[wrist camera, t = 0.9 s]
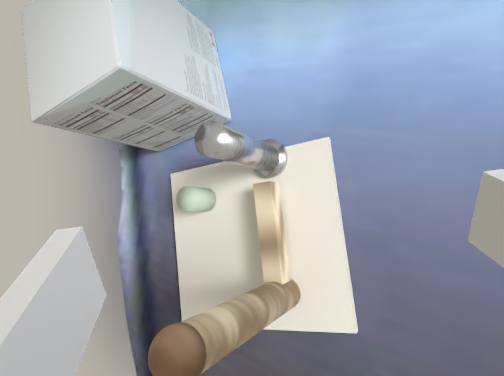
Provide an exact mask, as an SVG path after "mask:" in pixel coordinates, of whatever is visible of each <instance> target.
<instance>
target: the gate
mask: <svg viewBox="0 0 504 376" xmlns="http://www.w3.org/2000/svg"><path fill="white" fill-rule="evenodd" d="M253 188H254V197H255V206H256V215H257V224H258V233H259V242H260V251H261V260H262V269H263V278H264V285H262V286H260V287H257V288H255V289H253V290H251V291H248V292H246V293H244V294H242V295H239V296H237V297H235V298H233V299H230V300H228V301H226V302H224V303H221V304H219V305H217V306H215V307H212V308H210V309H208V310H206V311H204V312H201V313H199V314H197V315H195V316H192V317H190V318H188V319H186V320H183V321H181V322H179V323H173V324H170V325H168V326H166V327H165V328H163V329H162V330H161V331H160V332H159V333H158V334H157V335H156V336H155V338H154V339H153V341H152V343H151V345H150V348H149V353H148V364H149V368H150V371H151V373H152V375H153V376H199V375H200V374H201V373H203V372H204V371H206V370H207V369H208V368H210V367H211V366H213V365H214V364H215V363H217V362H218V361H219V360H221V359H222V358H224V357H225V356H226V355H228V354H229V353H231V352H232V351H233V350H235V349H236V348H238V347H239V346H240V345H242V344H243V343H245V342H246V341H247V340H249V339H250V338H251V337H253V336H254V335H256V334H257V333H258V332H260V331H261V330H263V329H264V328H265V327H267V326H268V325H270V324H271V323H272V322H274V321H275V320H276V319H278V318H279V317H281V316H282V315H283V314H285V313H286V312H288V311H289V310H290V309H292V308H293V307H295V306H296V305H297V304H298V302H299V300H300V296H301V292H300V288H299V286H298V284H297V283H296V282H295V281H294V280H293V279H291V278H290V270H289V262H288V254H287V246H286V237H285V229H284V221H283V213H282V205H281V197H280V189H279V183H277V182H272V181H267V182H262V183H256V184H253Z"/></svg>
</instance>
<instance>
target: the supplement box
mask: <svg viewBox="0 0 504 376" xmlns="http://www.w3.org/2000/svg"><path fill="white" fill-rule="evenodd" d="M21 15H22V22H23V23H22V24H23V34H24V45H25V56H26V65H27V75H28V86H29V98H30V110H31V122H34V123H38V124H43V125H47V126H51V127H55V128H60V129H64V130H68V131H72V132H77V133H81V134H85V135H90V136H94V137H98V138H103V139H107V140H111V141H115V142H119V143H124V144H128V145H132V146H136V147H141V148H145V149H150V150H154V151H162V150H164V149H167V148H169V147H171V146H174V145H176V144H178V143H181V142H183V141H186V140H188V139H190V138H193V137H195V135H196V132H197V130H198V128H199V127H200V126H201V125H202V124H203V123H204V122H207V121H216V122H218V123H220V124H225V123H227V122H230V121H231V119H232V118H231V113H230V108H229V103H228V99H227V94H226V89H225V84H224V80H223V75H222V70H221V66H220V61H219V56H218V51H217V47H216V42H215V37H214V33H213V31H212V30H211V29H210V28H209V27H208V26H206V25H205V24H204V23H203V22H202V21H200V20H199V19H198V18H197V17H196V16H195V15H193V14H192V13H191V12H190V11H189V10H187V9H186V8H185V7H184V6H183V5H182V4H180V3H179V2H178V1H177V0H31V1H30V2H29V3H28V4H27V5H26V6H25V7H24V8H23V9H22V10H21Z"/></svg>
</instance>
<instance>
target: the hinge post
mask: <svg viewBox="0 0 504 376" xmlns="http://www.w3.org/2000/svg"><path fill="white" fill-rule="evenodd" d="M195 146H196V149H197V150H198V152H199V153H200V154H202V155H204V156H207V157H211V158H215V159H219V160H223V161H227V162H230V163H234V164H238V165H242V166H246V167H250V168H253V170H254V172H255V173H256V174H257V175H259V176H261V177H264V178H273V177H276V176H278V175H279V174H281V173H282V172H283V170H284V169H285V167H286V164H287V159H288V156H287V151H286V149H285V147H284V146H283V145H282V144H281V143H279V142H277V141H275V140H271V139H267V140H263V141H260V140H257V139H255V138H253V137H250V136H248V135H246V134H243V133H241V132H239V131H237V130H234V129H232V128H230V127H227V126H225V125H223V124H220V123H218V122H216V121H207V122H204V123H203V124H202V125H201V126H200V127H199V128H198V130H197V132H196V135H195Z"/></svg>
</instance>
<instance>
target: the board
mask: <svg viewBox="0 0 504 376" xmlns="http://www.w3.org/2000/svg"><path fill="white" fill-rule="evenodd" d="M285 149H286V151H287V156H288V159H287V164H286V167H285V169H284V170H283V172H282V173H281V174H279V175H278V176H276V177H273V178H264V177H261V176H259V175H257V174H256V173H255V172H254V170H253V168H250V167H246V166H242V165H238V164H234V163H230V162H227V161H223V162H219V163H215V164H211V165H206V166H202V167H198V168H194V169H189V170H185V171H181V172H176V173H172V174H170V175H171V187H172V200H173V213H174V226H175V239H176V252H177V264H178V277H179V290H180V303H181V316H182V321H183V320H186V319H188V318H190V317H192V316H195V315H197V314H199V313H201V312H204V311H206V310H208V309H210V308H212V307H215V306H217V305H219V304H221V303H224V302H226V301H228V300H230V299H233V298H235V297H237V296H239V295H242V294H244V293H246V292H248V291H251V290H253V289H255V288H257V287H260V286H262V285H264V278H263V269H262V260H261V251H260V242H259V233H258V224H257V215H256V206H255V197H254V188H253V184H256V183H262V182H267V181H272V182H277V183H279V189H280V197H281V205H282V213H283V221H284V229H285V237H286V246H287V254H288V262H289V270H290V278H291V279H293V280H294V281H295V282H296V283H297V284H298V286H299V288H300V292H301V296H300V300H299V302H298V304H297V305H296V306H295V307H293V308H292V309H290V310H289V311H288V312H286V313H285V314H283V315H282V316H281V317H279V318H278V319H276V320H275V321H274V322H272V323H271V324H270V325H268V326H267V327H265V328H264V329H268V330H291V331H314V332H337V333H357V332H358V326H357V319H356V312H355V306H354V299H353V292H352V285H351V278H350V271H349V265H348V258H347V251H346V244H345V237H344V231H343V224H342V217H341V210H340V203H339V197H338V190H337V183H336V176H335V169H334V162H333V156H332V149H331V142H330V138H329V137H326V138H321V139H317V140H313V141H309V142H304V143H300V144H296V145H292V146H287V147H285ZM184 186H193V187H202V188H209V189H211V190H213V191H214V193H215V195H216V204H215V206H214V208H213V209H212V210H211V211H208V212H185V211H182V210H181V209H180V208H179V207H178V205H177V202H176V197H177V193H178V191H179V190H180V189H181V188H182V187H184Z"/></svg>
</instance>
